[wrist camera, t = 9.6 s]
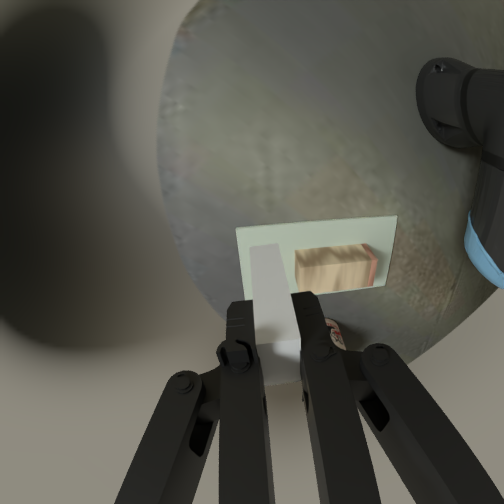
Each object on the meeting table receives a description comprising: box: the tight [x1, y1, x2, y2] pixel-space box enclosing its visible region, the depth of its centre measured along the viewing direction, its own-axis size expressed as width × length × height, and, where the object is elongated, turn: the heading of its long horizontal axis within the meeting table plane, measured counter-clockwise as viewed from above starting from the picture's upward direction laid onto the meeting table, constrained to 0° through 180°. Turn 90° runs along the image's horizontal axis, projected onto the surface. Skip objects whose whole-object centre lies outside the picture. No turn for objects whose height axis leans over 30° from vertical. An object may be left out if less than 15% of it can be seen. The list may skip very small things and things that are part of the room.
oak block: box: [294, 243, 378, 294], centre depth 42 cm, size 5×5×12 cm
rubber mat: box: [236, 215, 398, 300], centre depth 44 cm, size 26×14×1 cm, turn 95°
